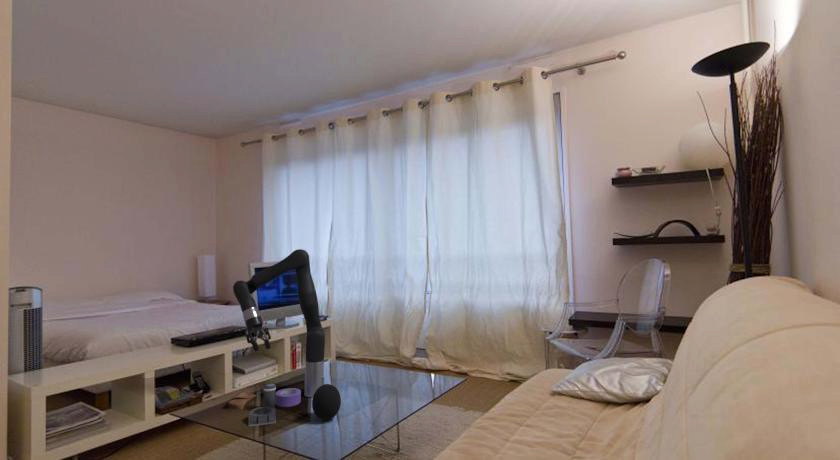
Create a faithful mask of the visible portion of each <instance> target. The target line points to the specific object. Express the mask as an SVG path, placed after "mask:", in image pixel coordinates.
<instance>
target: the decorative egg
mask: <svg viewBox="0 0 840 460" xmlns="http://www.w3.org/2000/svg"><path fill="white" fill-rule="evenodd" d="M341 403H342V398H341V393H340V391H339V390H338V389H337V387H336V386H335V385H333V384H331V383H324V385H322V386H320V387H319V388H318V389H317V390H316V392H315V393H314V396H313V397H312V399H311V408H312V412H313V413H314V415H315V417H317V418H318V419H319V420H321V421H330V420H332V419H334V418H335V417H336V416H337V415H338V413H339V411H340V408H341Z"/></svg>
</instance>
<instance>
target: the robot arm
mask: <svg viewBox="0 0 840 460" xmlns="http://www.w3.org/2000/svg"><path fill="white" fill-rule="evenodd" d="M310 262H311V261H310V255H309V253H308V252H307V250H305V249H301V248H300V249H295V250H293V251H292V252H291V253H290V254H288V256H286V257H285V258H283V259H282V260H280V261H279V262H277V263H275V264H272V265H270V266H268V267H266V268H264V269H261V271H258V272H256V273H254V274H253V275H252V276H251V278H250V279H249V280H247V281H245V280H236V282H234V284H233V286H232V290H233V294H234V296H235V298H236V301H237V302H238V303H239V306H240V310H241V312H242V317H243V320H244V324H245V326H246V330H245V332H244V334H245V338H246V342H247V344H250V345H251V346H252V349H253V351H254V352H258V351H259V350H260V347H259V344H258V342H257V340H258V339H260V340H262V341H263V342H264V343H263V344H264V346H265V350H269V349H271V347H272V346H271V344H270V340H271V339H272V336H271V333H270V331H269V328H268V327H265V328H263V325H264V323H263V320H262V316H261V314H260V311H259V308H258V306H257V304H256V300H255V299H254V297H252V296H251V295H252V294H253V293H254V292H257V290H259V288H261V287H263V286H265V285H267V284H268V283H271V282H272V281H274V280H276V279H277V278H279V277H280V276H282V275H283V274H285V273H287V272H289V271H291V270H294V271H295V275H296V281H297V283H296V285H297V286H296V287H297V288H296V289H297V298H298V303H299V307H300V309H301V313H302V316H303V317H304V321H305V327H306V340H305V341H306V342H305V364H304V366H305V368H304V390H303V392H304V397H307V398H313V396H314V393H315V392H316V390H317V389H318V388H319V387H320V386H322V385H324V384H325V375H324V373H325V372H324V370H325V366H324V365H325V351H326V350H325V347H326V345H325V344H326V333H325V331H324V328H323V326H322V323H321V322H322V321H321V319H320V312H319V311H320V310H319V309H320V308H319V301H318V293H317V290H316V287H315V286H316V285H315V282H314V280H313V277H312V273H311V271H312V270H311V265H310V264H311V263H310Z"/></svg>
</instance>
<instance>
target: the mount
mask: <svg viewBox="0 0 840 460" xmlns="http://www.w3.org/2000/svg"><path fill="white" fill-rule="evenodd" d="M271 424H277V418H276V407H275V408H272V407H263V406H260V407H256V408H253V409H251V410H250V411H249V414H248V427H256V426H257V427H258V426H265V425H271Z"/></svg>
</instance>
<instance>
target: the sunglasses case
mask: <svg viewBox="0 0 840 460" xmlns="http://www.w3.org/2000/svg"><path fill="white" fill-rule="evenodd" d="M257 397H258V395H256V394H253V393H251V392H248V391H246V390H245V389H241V391H239V392H238V393H237V394H235V396H232V398H231V399H229V400H228V401H227V402H226V404H225V409H226V410H244V408H245V407H246V406H247V405H249V404H250V403H251V402H252V401H253V400H255V399H256V398H257Z"/></svg>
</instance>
